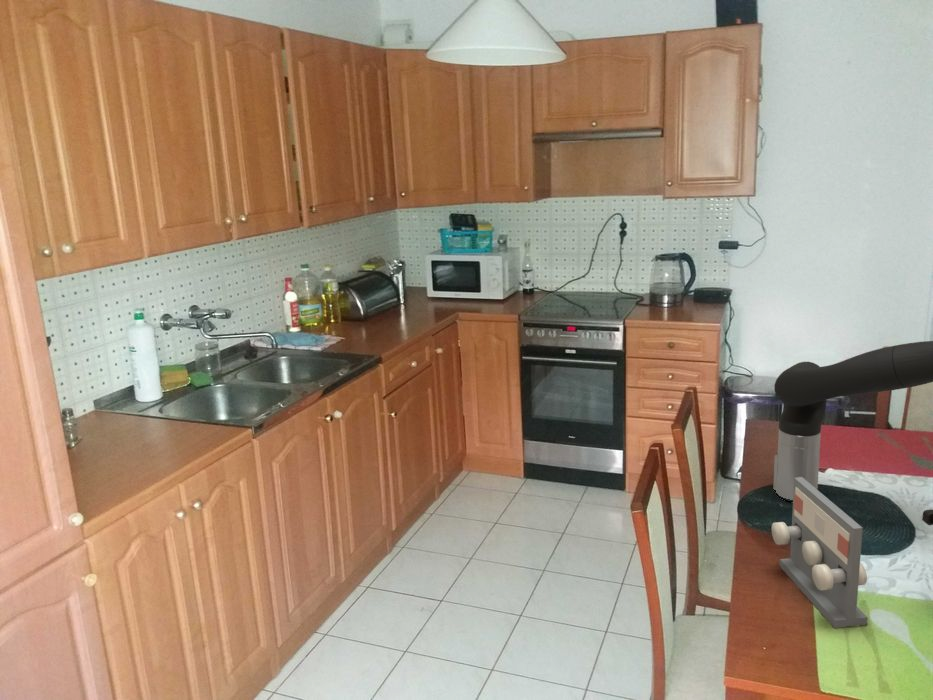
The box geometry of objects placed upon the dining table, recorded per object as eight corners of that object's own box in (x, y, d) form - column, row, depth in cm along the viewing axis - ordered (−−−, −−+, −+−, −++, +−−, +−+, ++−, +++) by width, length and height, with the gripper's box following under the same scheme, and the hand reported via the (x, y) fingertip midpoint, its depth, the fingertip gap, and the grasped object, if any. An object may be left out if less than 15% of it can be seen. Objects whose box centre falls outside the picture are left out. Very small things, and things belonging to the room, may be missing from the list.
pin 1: (808, 534, 154) (809, 514, 153) (819, 545, 150) (820, 525, 149) (771, 538, 154) (772, 518, 153) (781, 549, 149) (782, 529, 148)
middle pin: (840, 553, 147) (842, 533, 145) (853, 565, 142) (855, 544, 141) (801, 557, 146) (802, 537, 145) (813, 569, 142) (814, 548, 141)
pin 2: (852, 577, 139) (854, 556, 138) (866, 591, 134) (868, 569, 133) (811, 581, 138) (812, 560, 137) (824, 595, 134) (825, 573, 133)
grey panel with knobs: (807, 563, 156) (812, 476, 151) (866, 625, 136) (875, 526, 131) (779, 566, 156) (783, 478, 151) (834, 628, 136) (841, 529, 131)
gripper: (994, 474, 140) (904, 482, 140) (1052, 509, 128) (953, 517, 127) (988, 511, 143) (899, 518, 142) (1044, 548, 130) (947, 556, 129)
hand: (925, 517), depth 134 cm, fingers closed
